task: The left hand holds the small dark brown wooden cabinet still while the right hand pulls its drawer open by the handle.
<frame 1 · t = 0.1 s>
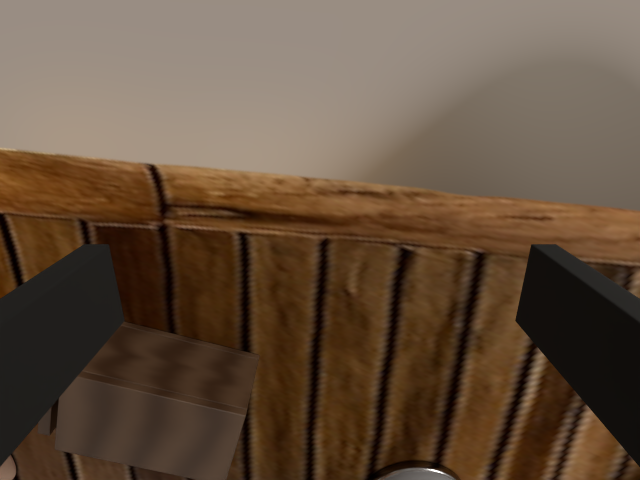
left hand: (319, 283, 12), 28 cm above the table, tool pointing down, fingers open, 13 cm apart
drawer: (113, 386, 43), point 5 cm above the table, slide at 1.1 cm
cabinet: (179, 370, 48), on the table
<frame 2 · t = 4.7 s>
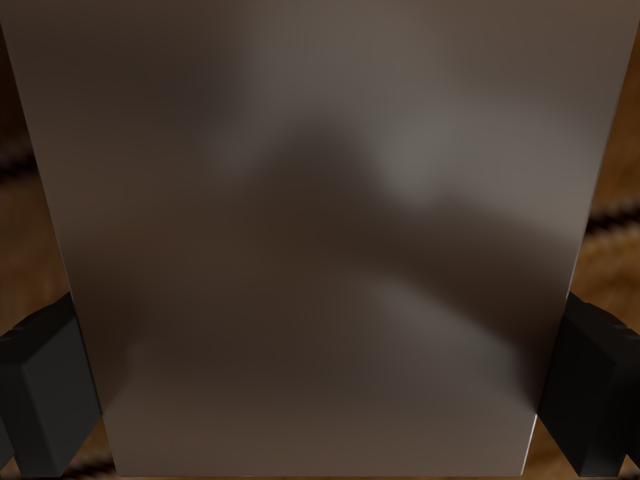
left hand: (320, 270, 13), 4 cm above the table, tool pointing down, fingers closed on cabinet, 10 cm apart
cabinet: (319, 95, 15), on the table, touching left hand
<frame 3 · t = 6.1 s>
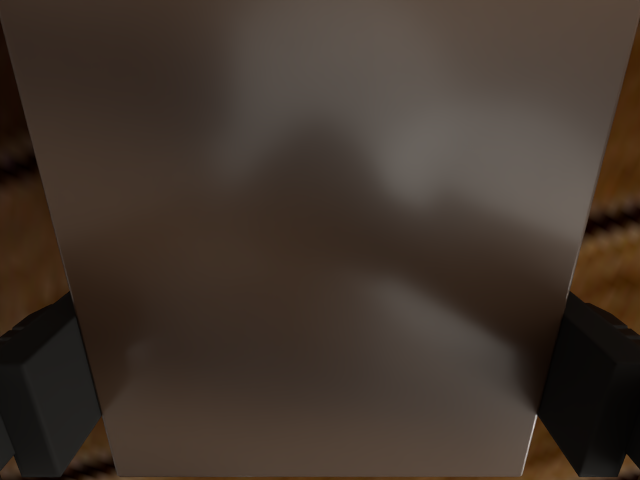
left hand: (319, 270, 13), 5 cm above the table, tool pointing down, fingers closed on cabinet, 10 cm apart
cabinet: (319, 96, 15), on the table, touching left hand
when the left hand's fingers open (4 cm above the table, at t = 9.8 s): cabinet stays where it is, on the table.
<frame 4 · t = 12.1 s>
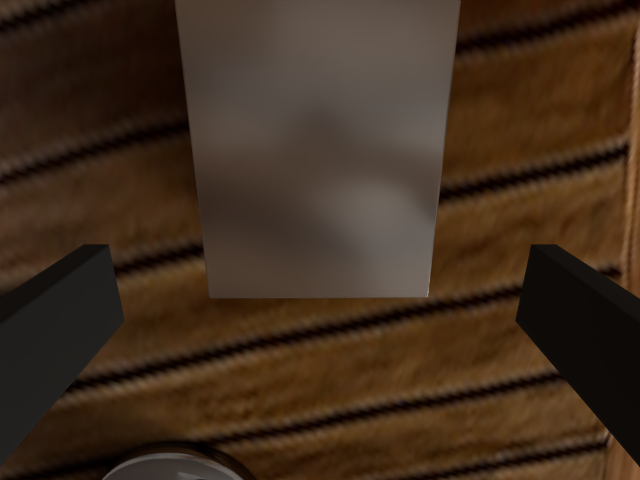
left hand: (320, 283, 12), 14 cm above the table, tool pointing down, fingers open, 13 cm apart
cabinet: (318, 93, 24), on the table
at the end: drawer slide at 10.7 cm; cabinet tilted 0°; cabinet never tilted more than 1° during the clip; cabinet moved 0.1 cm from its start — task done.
